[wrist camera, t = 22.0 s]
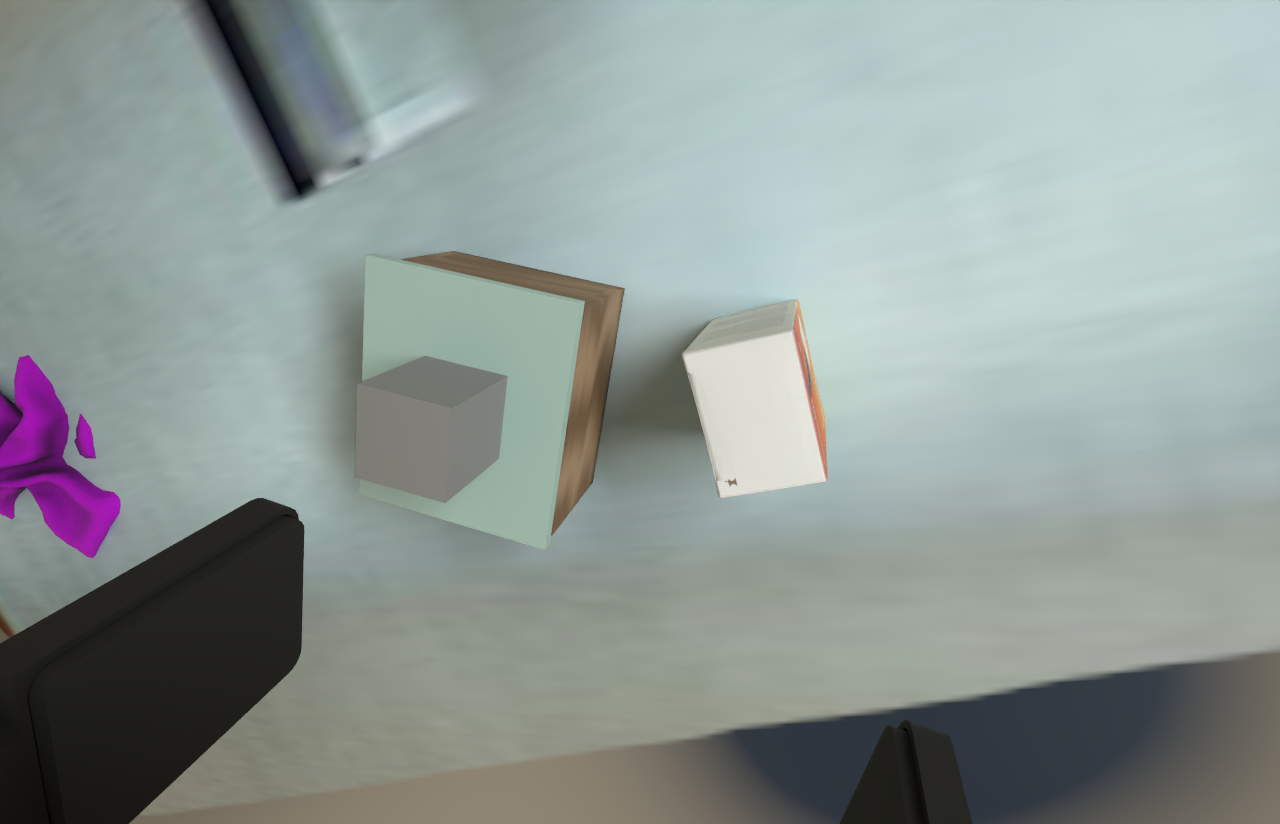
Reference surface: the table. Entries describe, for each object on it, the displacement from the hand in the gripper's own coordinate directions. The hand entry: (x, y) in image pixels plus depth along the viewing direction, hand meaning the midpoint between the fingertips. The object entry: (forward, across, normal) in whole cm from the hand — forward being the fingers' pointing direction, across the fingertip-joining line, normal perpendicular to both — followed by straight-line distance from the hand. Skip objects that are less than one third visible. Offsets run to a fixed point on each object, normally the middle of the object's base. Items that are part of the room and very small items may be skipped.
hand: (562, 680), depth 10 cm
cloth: (+34, +59, +28) cm, 73 cm away
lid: (+25, +14, +8) cm, 30 cm away
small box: (+34, -2, +4) cm, 34 cm away
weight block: (+24, +14, +8) cm, 29 cm away
